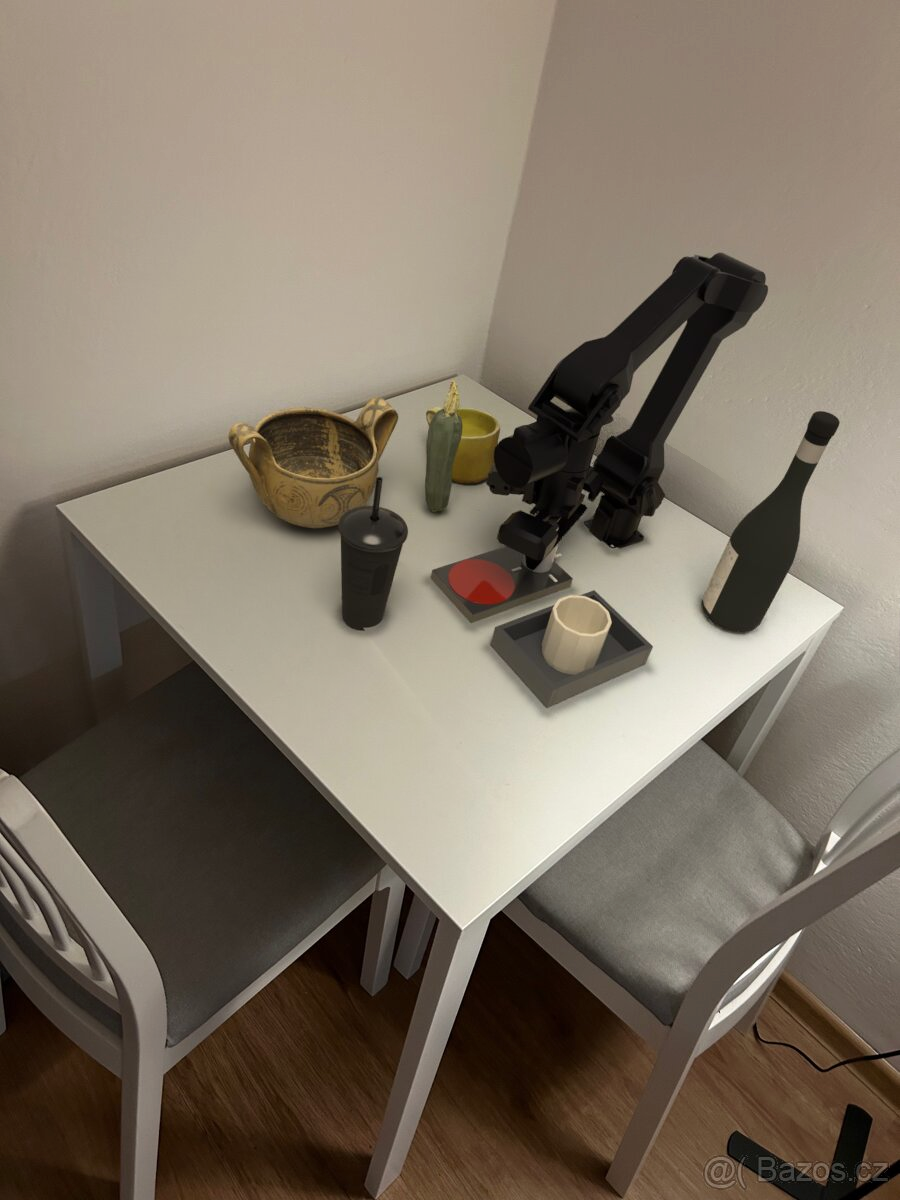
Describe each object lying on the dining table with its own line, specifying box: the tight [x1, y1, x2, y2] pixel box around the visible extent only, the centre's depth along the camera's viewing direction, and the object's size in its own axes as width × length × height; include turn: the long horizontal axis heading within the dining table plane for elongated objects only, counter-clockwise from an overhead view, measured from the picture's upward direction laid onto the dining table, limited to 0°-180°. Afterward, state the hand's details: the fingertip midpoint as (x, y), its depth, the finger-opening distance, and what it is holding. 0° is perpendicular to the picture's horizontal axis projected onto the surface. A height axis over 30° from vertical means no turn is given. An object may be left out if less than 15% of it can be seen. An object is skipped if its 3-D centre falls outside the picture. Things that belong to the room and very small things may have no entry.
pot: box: [541, 594, 612, 675], centre depth 105 cm, size 7×7×6 cm
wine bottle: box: [701, 410, 841, 634], centre depth 108 cm, size 8×8×30 cm
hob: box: [430, 545, 574, 624], centre depth 115 cm, size 18×9×2 cm, turn 124°
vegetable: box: [424, 379, 463, 513], centre depth 118 cm, size 4×4×20 cm
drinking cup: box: [337, 476, 409, 632], centre depth 100 cm, size 8×8×20 cm
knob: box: [522, 542, 560, 573], centre depth 115 cm, size 4×4×4 cm
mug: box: [425, 405, 501, 485], centre depth 132 cm, size 12×10×10 cm
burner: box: [448, 559, 515, 605], centre depth 112 cm, size 8×8×1 cm
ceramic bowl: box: [227, 396, 399, 529], centre depth 116 cm, size 22×17×15 cm
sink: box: [489, 589, 654, 709], centre depth 106 cm, size 16×11×4 cm
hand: (537, 559), depth 116 cm, fingers closed on knob, 4 cm apart
